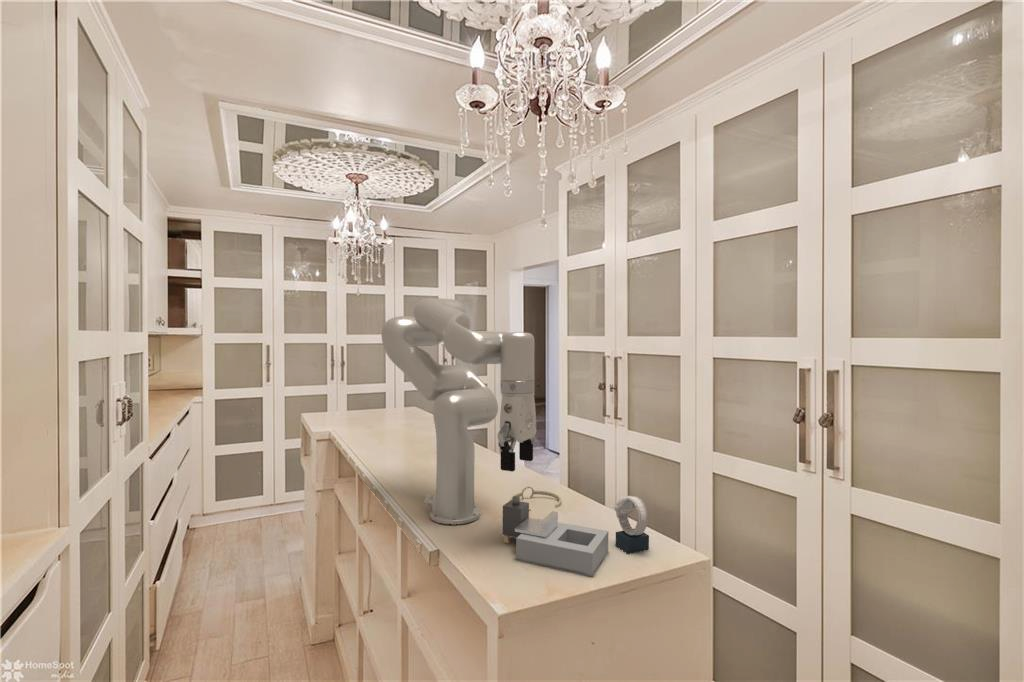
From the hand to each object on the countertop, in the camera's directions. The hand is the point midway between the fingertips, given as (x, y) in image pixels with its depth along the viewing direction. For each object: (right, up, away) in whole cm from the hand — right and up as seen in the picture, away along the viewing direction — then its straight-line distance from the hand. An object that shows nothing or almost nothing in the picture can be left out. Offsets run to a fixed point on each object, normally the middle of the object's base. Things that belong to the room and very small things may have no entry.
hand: (517, 465), depth 112 cm
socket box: (+9, -17, -7) cm, 21 cm away
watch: (+25, -18, -2) cm, 30 cm away
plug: (0, -17, 0) cm, 17 cm away
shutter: (+4, -12, -4) cm, 14 cm away
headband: (+5, -17, +25) cm, 31 cm away
